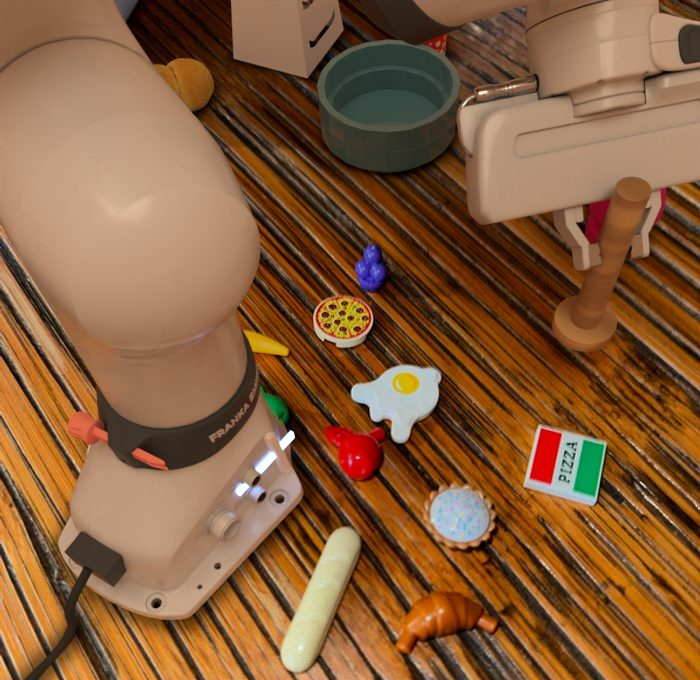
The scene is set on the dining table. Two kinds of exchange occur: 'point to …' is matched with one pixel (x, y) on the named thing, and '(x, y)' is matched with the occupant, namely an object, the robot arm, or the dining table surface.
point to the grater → (284, 33)
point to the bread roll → (189, 81)
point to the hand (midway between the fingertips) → (612, 263)
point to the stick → (603, 273)
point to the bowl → (388, 105)
